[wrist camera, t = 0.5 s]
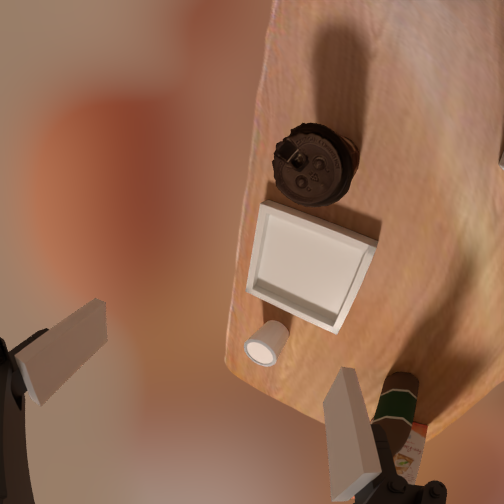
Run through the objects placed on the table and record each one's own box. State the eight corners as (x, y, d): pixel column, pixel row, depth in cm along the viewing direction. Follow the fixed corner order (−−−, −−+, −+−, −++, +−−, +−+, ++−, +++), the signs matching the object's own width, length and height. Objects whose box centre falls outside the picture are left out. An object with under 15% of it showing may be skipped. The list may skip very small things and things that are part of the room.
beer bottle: (394, 365, 42) (358, 483, 23) (427, 378, 39) (403, 494, 20) (376, 387, 46) (336, 492, 27) (406, 399, 43) (375, 503, 24)
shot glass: (282, 349, 54) (267, 372, 49) (256, 330, 56) (238, 351, 51) (298, 332, 50) (282, 356, 45) (269, 311, 52) (250, 333, 46)
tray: (268, 199, 42) (260, 203, 40) (378, 241, 36) (376, 248, 34) (252, 284, 51) (245, 291, 49) (340, 325, 45) (336, 334, 43)
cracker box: (429, 424, 42) (409, 503, 26) (416, 434, 45) (394, 508, 29) (379, 409, 47) (349, 490, 31) (369, 421, 50) (338, 495, 34)
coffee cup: (303, 129, 35) (258, 129, 25) (361, 122, 30) (341, 116, 20) (313, 189, 38) (273, 213, 28) (370, 186, 33) (354, 211, 23)
